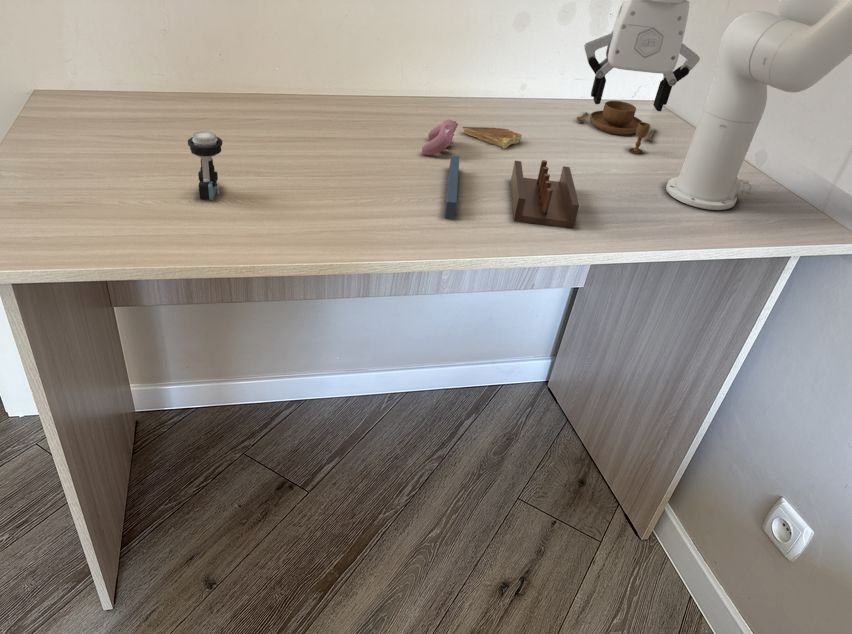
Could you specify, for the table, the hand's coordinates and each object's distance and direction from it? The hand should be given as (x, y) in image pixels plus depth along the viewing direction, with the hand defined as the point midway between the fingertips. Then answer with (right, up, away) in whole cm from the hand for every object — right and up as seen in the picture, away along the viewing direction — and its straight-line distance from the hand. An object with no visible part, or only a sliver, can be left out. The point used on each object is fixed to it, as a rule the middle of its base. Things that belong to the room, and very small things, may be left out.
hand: (626, 105), depth 110 cm
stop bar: (-27, -11, +12) cm, 32 cm away
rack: (-11, -13, +11) cm, 21 cm away
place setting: (+12, +9, +44) cm, 46 cm away
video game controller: (-28, +1, +28) cm, 40 cm away
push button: (-68, -13, +5) cm, 69 cm away
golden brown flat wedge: (-16, +4, +34) cm, 38 cm away
